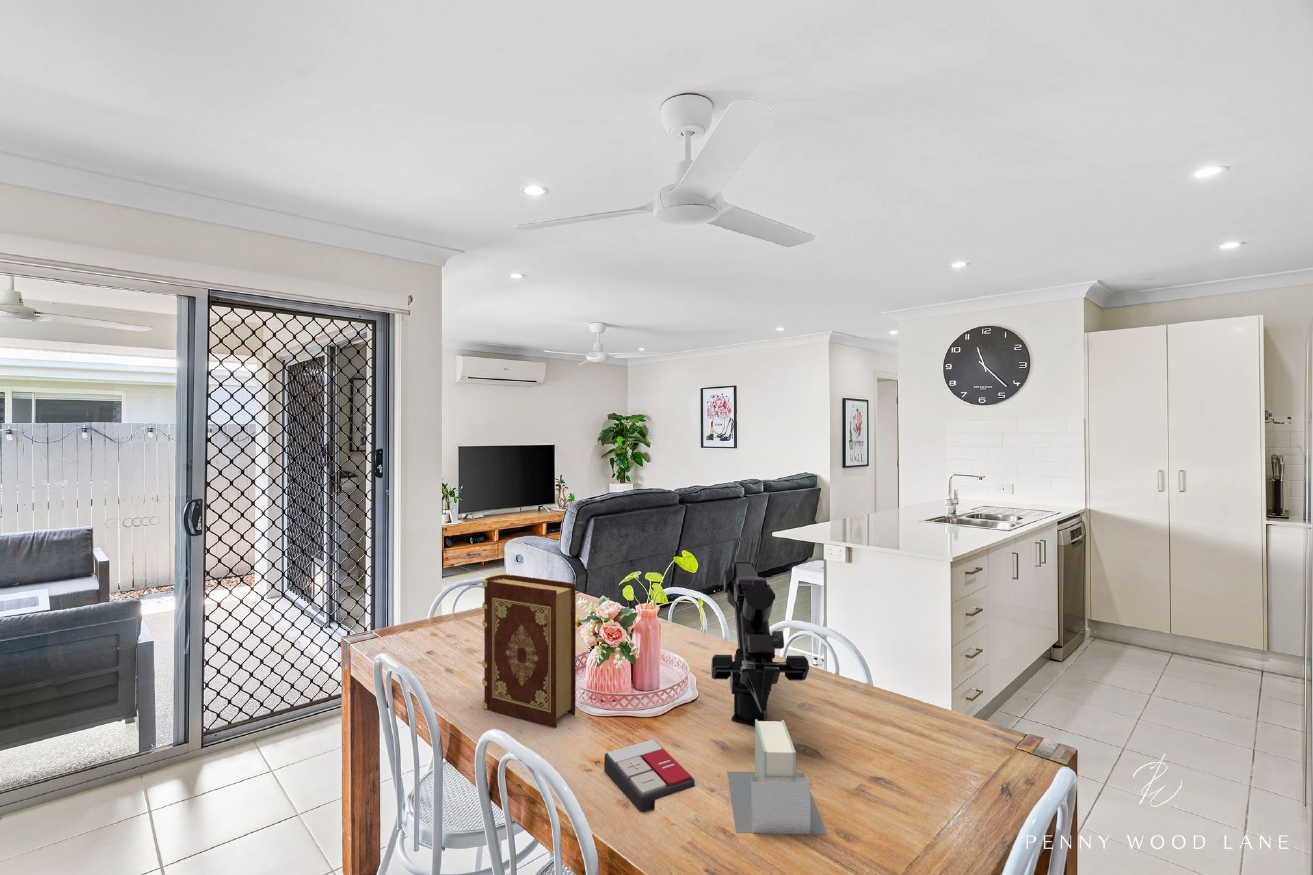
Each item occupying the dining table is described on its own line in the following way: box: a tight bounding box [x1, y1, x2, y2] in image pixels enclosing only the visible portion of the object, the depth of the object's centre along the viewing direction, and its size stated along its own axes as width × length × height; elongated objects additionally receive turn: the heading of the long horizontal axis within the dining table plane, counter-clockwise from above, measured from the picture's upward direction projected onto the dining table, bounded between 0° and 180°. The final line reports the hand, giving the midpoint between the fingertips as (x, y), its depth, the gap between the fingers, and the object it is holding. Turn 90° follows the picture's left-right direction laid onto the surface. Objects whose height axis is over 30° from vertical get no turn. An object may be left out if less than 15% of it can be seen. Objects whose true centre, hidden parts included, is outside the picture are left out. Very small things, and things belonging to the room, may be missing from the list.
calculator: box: [603, 739, 696, 813], centre depth 113 cm, size 11×4×15 cm
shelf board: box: [727, 770, 827, 836], centre depth 105 cm, size 18×14×2 cm
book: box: [754, 719, 797, 777], centre depth 103 cm, size 11×5×12 cm, turn 178°
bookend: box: [751, 776, 811, 835], centre depth 97 cm, size 2×9×8 cm, turn 88°
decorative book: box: [481, 573, 577, 728], centre depth 142 cm, size 22×8×30 cm, turn 62°
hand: (763, 711), depth 116 cm, fingers closed
